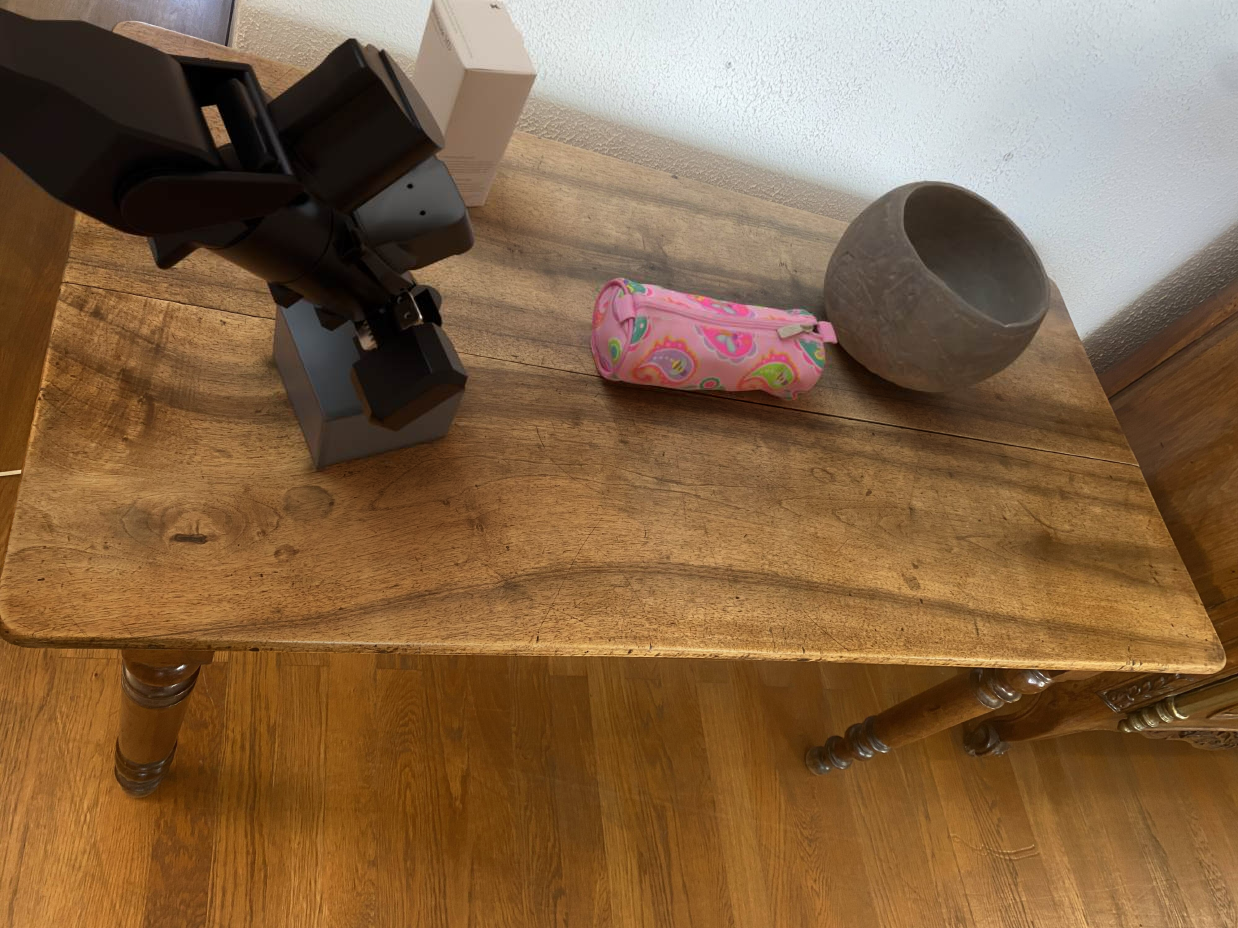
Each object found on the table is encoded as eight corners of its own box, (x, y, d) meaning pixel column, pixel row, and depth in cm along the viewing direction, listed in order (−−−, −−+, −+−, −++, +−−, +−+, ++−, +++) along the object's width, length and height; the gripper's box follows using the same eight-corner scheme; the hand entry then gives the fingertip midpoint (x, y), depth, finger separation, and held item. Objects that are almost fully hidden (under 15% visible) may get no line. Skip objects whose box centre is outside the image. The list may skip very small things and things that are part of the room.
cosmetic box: (392, 142, 80) (427, -11, 68) (459, 143, 84) (504, -3, 71) (421, 212, 78) (462, 66, 65) (489, 210, 81) (541, 70, 69)
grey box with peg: (332, 381, 53) (481, 352, 58) (280, 253, 56) (426, 236, 61) (316, 469, 62) (445, 437, 67) (272, 354, 65) (399, 333, 70)
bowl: (914, 270, 103) (1008, 177, 91) (986, 423, 94) (1100, 343, 83) (768, 256, 94) (851, 151, 82) (833, 425, 85) (937, 334, 73)
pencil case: (776, 343, 88) (827, 286, 80) (797, 421, 83) (853, 368, 76) (576, 315, 79) (614, 248, 72) (589, 400, 75) (630, 339, 68)
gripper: (475, 290, 43) (585, 374, 58) (347, 25, 49) (477, 163, 63) (300, 405, 45) (448, 458, 60) (196, 138, 51) (355, 246, 65)
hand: (434, 324), depth 62 cm, fingers closed on grey box with peg, 2 cm apart
